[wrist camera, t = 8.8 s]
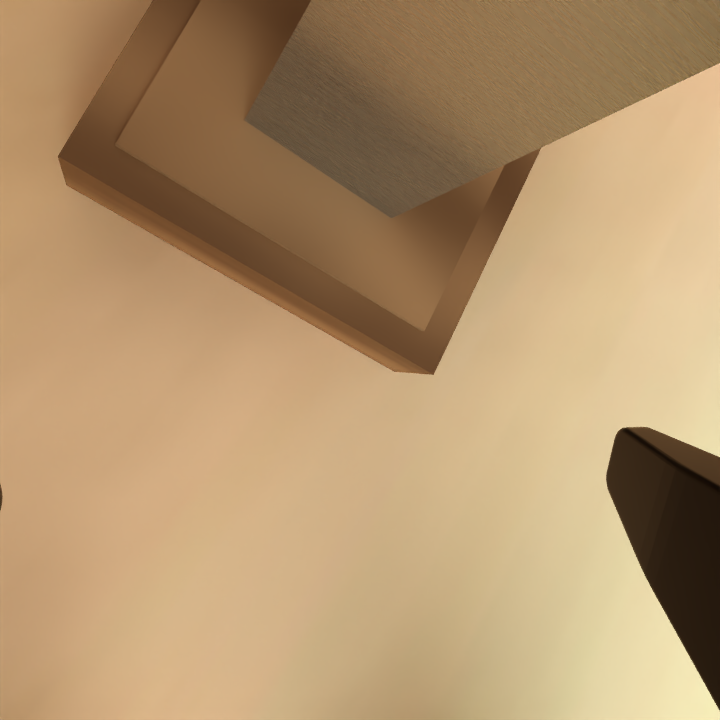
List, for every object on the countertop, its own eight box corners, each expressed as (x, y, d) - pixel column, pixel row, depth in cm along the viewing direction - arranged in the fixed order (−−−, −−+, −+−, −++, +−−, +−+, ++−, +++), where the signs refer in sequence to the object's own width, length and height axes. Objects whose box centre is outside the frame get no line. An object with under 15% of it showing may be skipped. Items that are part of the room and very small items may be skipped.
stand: (394, 371, 23) (436, 374, 20) (66, 184, 19) (57, 153, 16) (528, 94, 25) (585, 59, 22) (255, -128, 21) (278, -208, 18)
